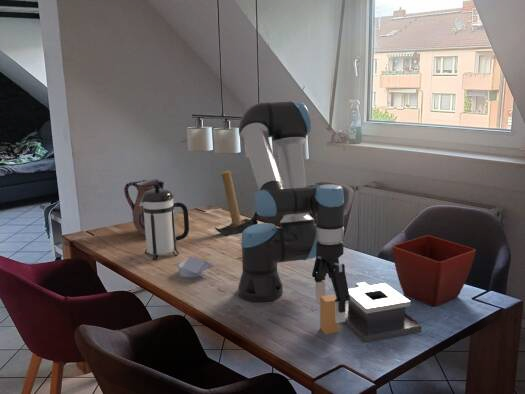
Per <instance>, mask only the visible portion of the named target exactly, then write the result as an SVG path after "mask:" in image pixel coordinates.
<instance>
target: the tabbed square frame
mask: <svg viewBox="0 0 525 394" xmlns="http://www.w3.org/2000/svg"><path fill="white" fill-rule="evenodd" d="M348 291H349V296H350V300H349V301H348V303H345V322H343V323H344V324H345V326H347V327H348V328H349V329H350V330H351V331H352V332H353V333H354V334H355V335H356V336H357V337H358V338H359V339H360V340H361V341H362V342H363V343H370V342H374V341H375V342H376V341H381V340H382V341H383V340H386V339H391V338H396V337H401V336H403V337H404V336H407V335H412V334H417V333H422V324H421V323H419V322H418V321H416V320H415V319H414V318H413V317H411V316H410V315H409V314H407V313H406V307H407V308H408V307H411V300H409V299H408V298H407V297H405V296H404V295H403V294H401V293H400V292H398V291H397V290H395V289H394V288H393V287H391V286H390V285H389V284H387V283H386V282H384V283H378V284H377V283H376V284H372V285H370V284H368V283H366V282H365V281H363V282H356V283H355V287H351V288H348Z"/></svg>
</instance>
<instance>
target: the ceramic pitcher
mask: <svg viewBox="0 0 525 394" xmlns="http://www.w3.org/2000/svg"><path fill="white" fill-rule="evenodd" d="M155 184H158V185H159V186H160V188H159V189H164V185H165V182H164V181H162V180H159V179H157V178H153V179H141V180H138V181H129V182H127V183H126V185H125V186H124V190H123V192H124V196H125V199H126V201H127V203H128V205H129V206H130V208H131V211H132V212H131V213H132V222H133V225H134V228H135V229H136V231H138V232H139V233H140V234H141V235H144V236H146V235H145V222H144V212H143V206H139V205H140V202H141V200H142V197H143V194H144V193H145V192H146V191H149V190H153V189H155V188H154V185H155ZM129 187H135V188H136V190H137V195H136V198H135V203H134V202H133V199H132V198H131V196H130V192H129Z"/></svg>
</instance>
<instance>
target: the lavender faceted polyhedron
mask: <svg viewBox="0 0 525 394" xmlns="http://www.w3.org/2000/svg"><path fill="white" fill-rule="evenodd" d="M214 267H215V265H214V264H212V263H211V262H208V261H207V260H204V259H201V258H198V257H196V256H195V257H194V256H192V255H190V256H188V259H186V260H185V261H181V262H180V263H179V264H178V273H179V276H180V275H181V276H180V277H183V278H194V277H195V276H196V277H200V276H201V275H203V274H204V272H205V271H206V270H209V269H212V268H214Z"/></svg>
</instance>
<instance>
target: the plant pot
mask: <svg viewBox="0 0 525 394" xmlns="http://www.w3.org/2000/svg"><path fill="white" fill-rule="evenodd" d="M391 247H392V248H391V249H392V255H393V261H394V267H395V270H396V274H397V275H396V276H397V278H398V283H399V284H400V288H401V289H402V293H403V294H404V295H405V296H408V297H410V298H411V299H415V300H417V301H419V302H422V303H424V304H427V305H428V306H431V307H437V306H439V305H443V304H444V303H447V302H449V301H452V300H454V299H456V298H458V297H459V295H460V294H461V291H462V290H463V288H464V286H465V283H466V281H467V280H468V277H469V275H470V271H471V269H472V266H473V263H474V260H475V256H476V251H477V250H476V249H475V248H472V247H470V246H468V245H462V244H460V243H456V242H453V241H450V240H446V239H442V238H439V237H436V236H433V235H424V236H420V237H417V238H414V239H410V240H406V241H403V242H400V243H397V244H394V245H392V246H391Z"/></svg>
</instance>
